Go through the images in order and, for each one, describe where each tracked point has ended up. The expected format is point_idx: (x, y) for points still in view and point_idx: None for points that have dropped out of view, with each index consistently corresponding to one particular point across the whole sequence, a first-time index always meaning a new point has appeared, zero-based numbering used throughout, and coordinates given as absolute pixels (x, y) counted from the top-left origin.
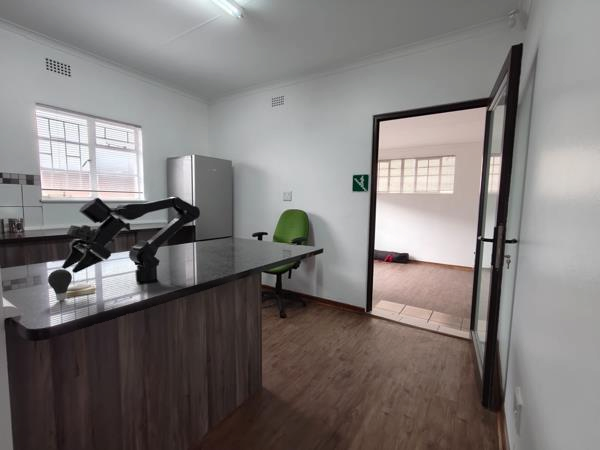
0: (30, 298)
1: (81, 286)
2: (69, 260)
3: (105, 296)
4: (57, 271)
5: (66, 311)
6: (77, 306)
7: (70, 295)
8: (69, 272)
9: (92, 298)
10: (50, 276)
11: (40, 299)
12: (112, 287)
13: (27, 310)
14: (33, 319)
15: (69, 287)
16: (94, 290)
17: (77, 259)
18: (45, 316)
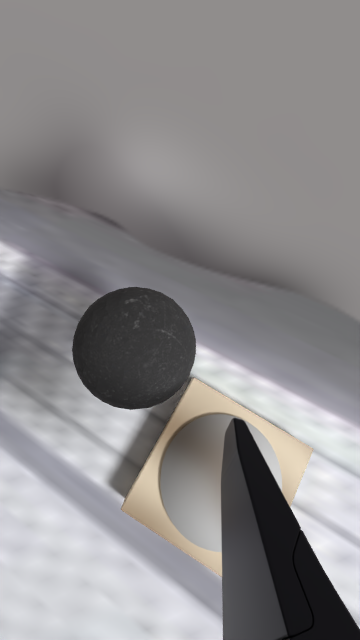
0: (306, 337)
1: (214, 496)
2: (240, 507)
3: (18, 474)
4: (107, 311)
5: (14, 297)
6: (23, 342)
7: (174, 410)
8: (95, 388)
9: (54, 430)
10: (133, 287)
11: (255, 343)
12: (121, 612)
13: (160, 261)
14: (51, 225)
15: None
16: (124, 501)
17: (230, 607)
18: (40, 249)
